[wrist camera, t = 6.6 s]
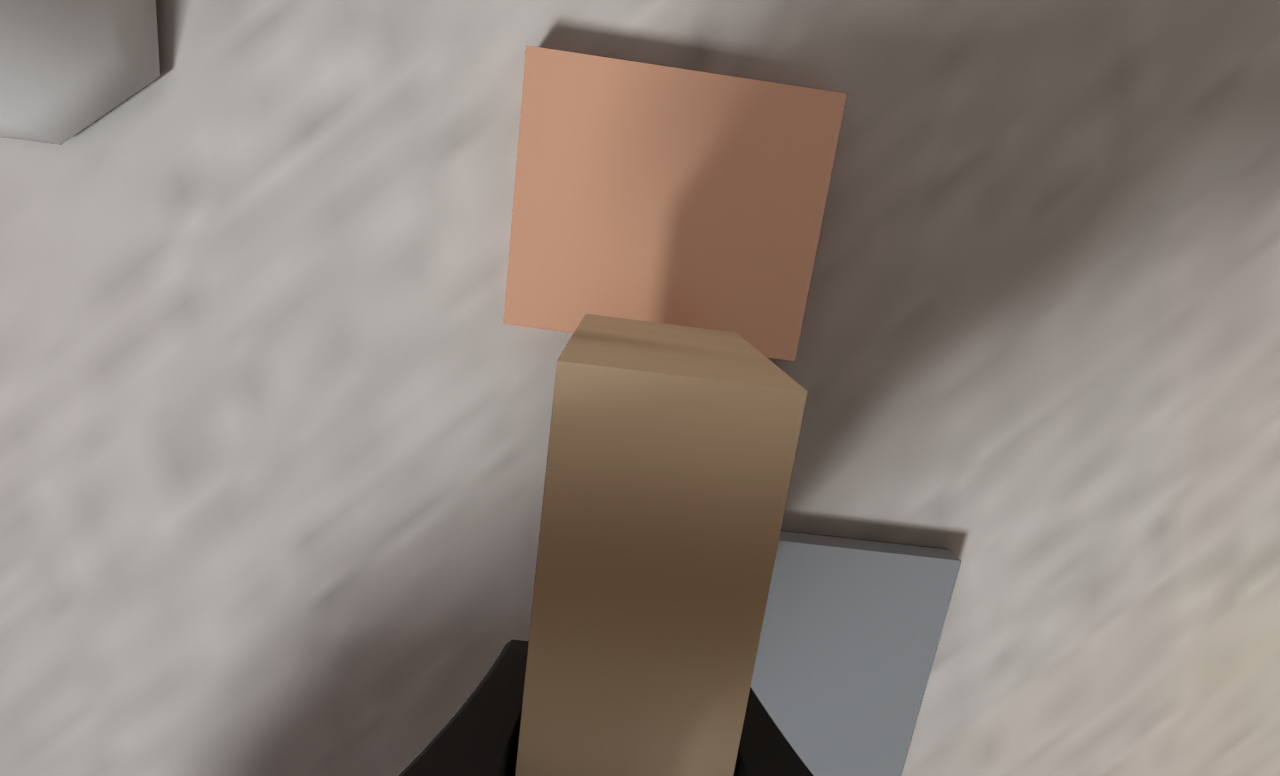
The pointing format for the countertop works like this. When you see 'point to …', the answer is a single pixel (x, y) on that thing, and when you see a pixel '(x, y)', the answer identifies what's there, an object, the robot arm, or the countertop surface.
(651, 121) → the tile
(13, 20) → the flask
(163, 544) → the countertop surface
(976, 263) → the countertop surface
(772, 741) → the robot arm
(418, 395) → the countertop surface
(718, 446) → the tall tan prism
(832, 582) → the plate
